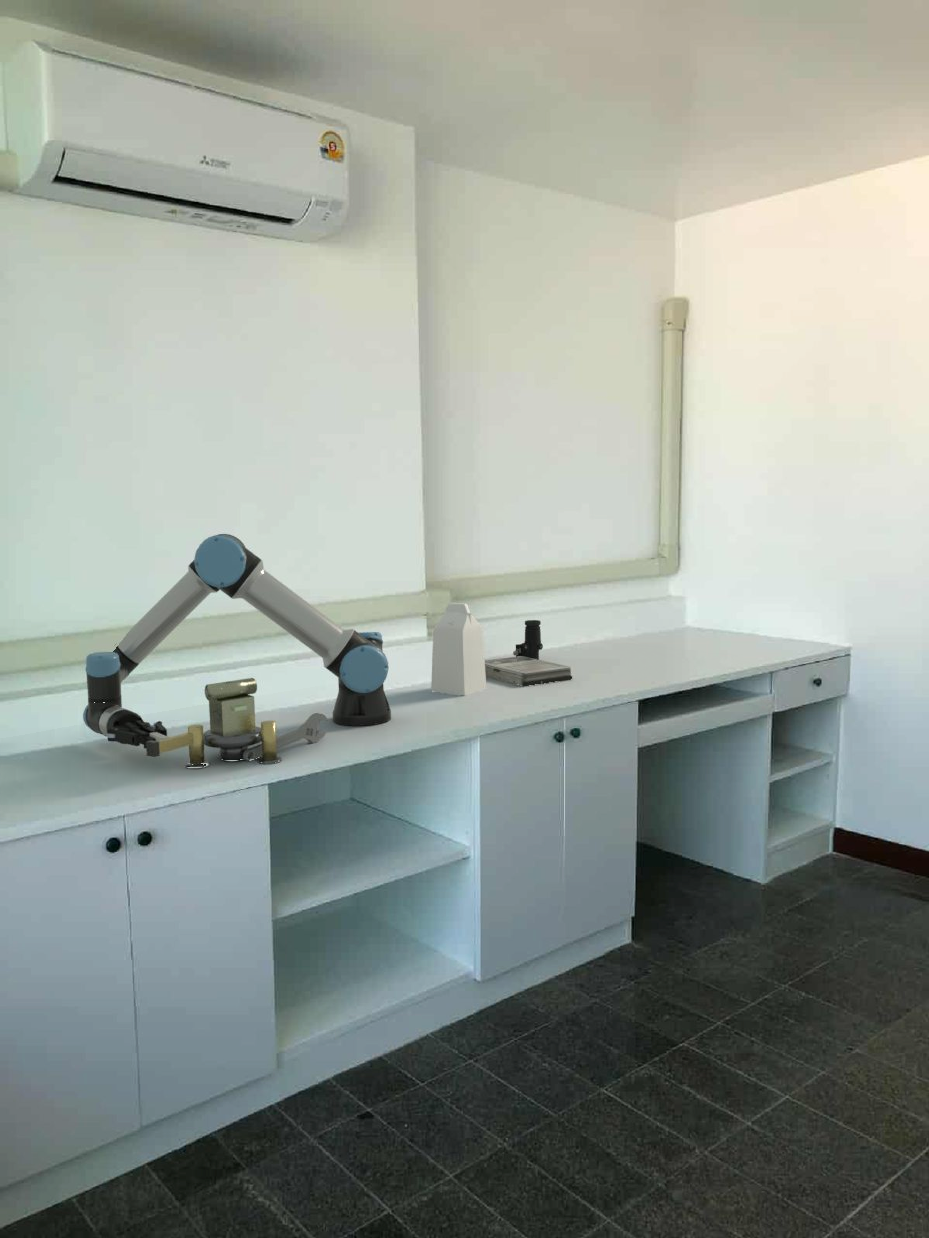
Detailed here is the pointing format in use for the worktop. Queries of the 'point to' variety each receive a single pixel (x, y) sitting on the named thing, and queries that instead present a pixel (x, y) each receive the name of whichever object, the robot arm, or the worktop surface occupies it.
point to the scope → (530, 641)
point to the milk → (458, 653)
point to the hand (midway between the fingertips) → (165, 744)
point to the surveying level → (237, 722)
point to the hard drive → (526, 671)
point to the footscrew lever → (181, 744)
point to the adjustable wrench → (293, 736)
